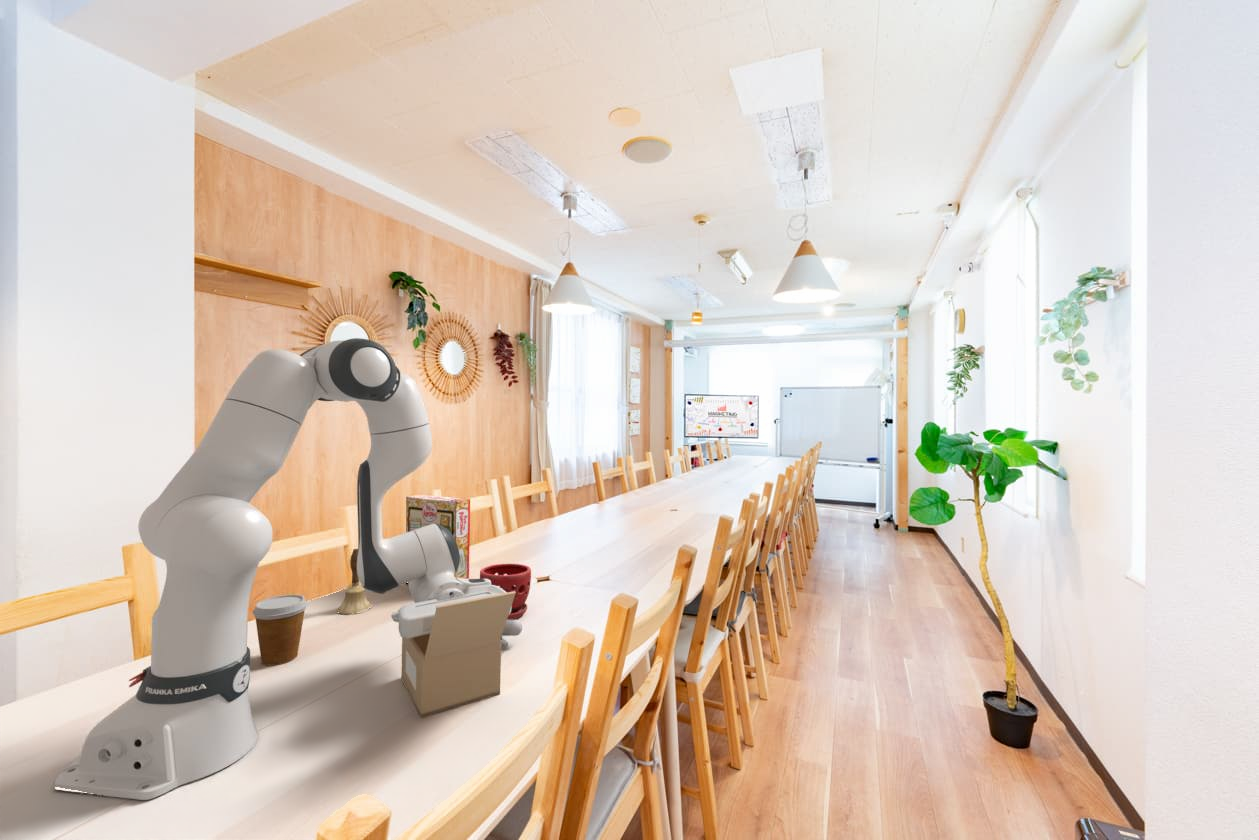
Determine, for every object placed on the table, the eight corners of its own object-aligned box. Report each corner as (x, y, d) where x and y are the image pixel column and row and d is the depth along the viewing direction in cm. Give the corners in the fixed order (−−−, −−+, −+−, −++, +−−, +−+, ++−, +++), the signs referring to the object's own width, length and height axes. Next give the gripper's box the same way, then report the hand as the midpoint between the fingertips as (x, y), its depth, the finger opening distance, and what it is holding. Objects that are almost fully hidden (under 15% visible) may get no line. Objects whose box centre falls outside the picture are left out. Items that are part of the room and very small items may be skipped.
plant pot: (538, 617, 132) (539, 571, 132) (488, 627, 124) (489, 579, 124) (519, 601, 142) (519, 559, 142) (472, 610, 135) (473, 565, 135)
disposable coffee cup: (246, 658, 106) (248, 601, 106) (299, 644, 113) (300, 590, 113) (257, 674, 100) (258, 613, 100) (312, 658, 107) (313, 601, 107)
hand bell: (378, 607, 136) (379, 548, 136) (347, 617, 129) (348, 554, 129) (361, 601, 140) (362, 543, 140) (330, 610, 133) (331, 549, 133)
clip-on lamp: (438, 655, 116) (492, 658, 106) (432, 628, 116) (485, 628, 106) (478, 632, 126) (530, 634, 116) (472, 607, 126) (524, 606, 116)
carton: (400, 678, 99) (401, 627, 99) (472, 659, 108) (473, 612, 108) (420, 718, 86) (421, 659, 86) (500, 693, 94) (501, 640, 94)
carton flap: (436, 605, 81) (437, 607, 81) (514, 591, 89) (515, 592, 88) (424, 657, 87) (425, 659, 86) (499, 639, 94) (499, 641, 94)
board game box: (469, 588, 153) (471, 498, 153) (454, 594, 147) (456, 501, 147) (419, 578, 161) (421, 493, 161) (403, 584, 155) (405, 496, 155)
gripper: (389, 595, 94) (407, 622, 82) (495, 577, 106) (523, 597, 95) (388, 629, 94) (406, 660, 83) (495, 607, 106) (523, 631, 95)
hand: (470, 626), depth 89 cm, fingers closed, pressing on carton flap
